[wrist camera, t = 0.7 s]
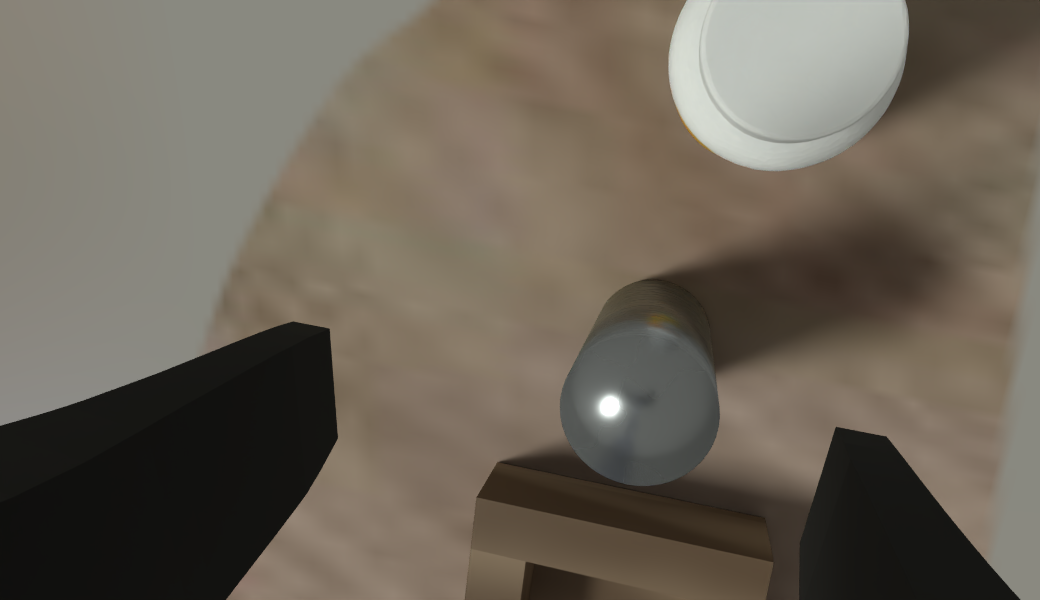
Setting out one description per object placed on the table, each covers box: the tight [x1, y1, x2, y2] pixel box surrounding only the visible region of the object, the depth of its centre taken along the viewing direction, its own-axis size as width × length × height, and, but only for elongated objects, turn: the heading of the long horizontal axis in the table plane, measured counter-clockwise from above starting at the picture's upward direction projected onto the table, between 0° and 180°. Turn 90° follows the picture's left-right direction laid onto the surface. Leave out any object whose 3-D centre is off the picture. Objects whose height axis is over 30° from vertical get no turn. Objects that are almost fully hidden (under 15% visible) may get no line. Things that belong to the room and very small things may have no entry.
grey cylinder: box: [560, 280, 720, 486], centre depth 23 cm, size 4×4×8 cm
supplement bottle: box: [669, 0, 909, 171], centre depth 20 cm, size 5×5×10 cm
